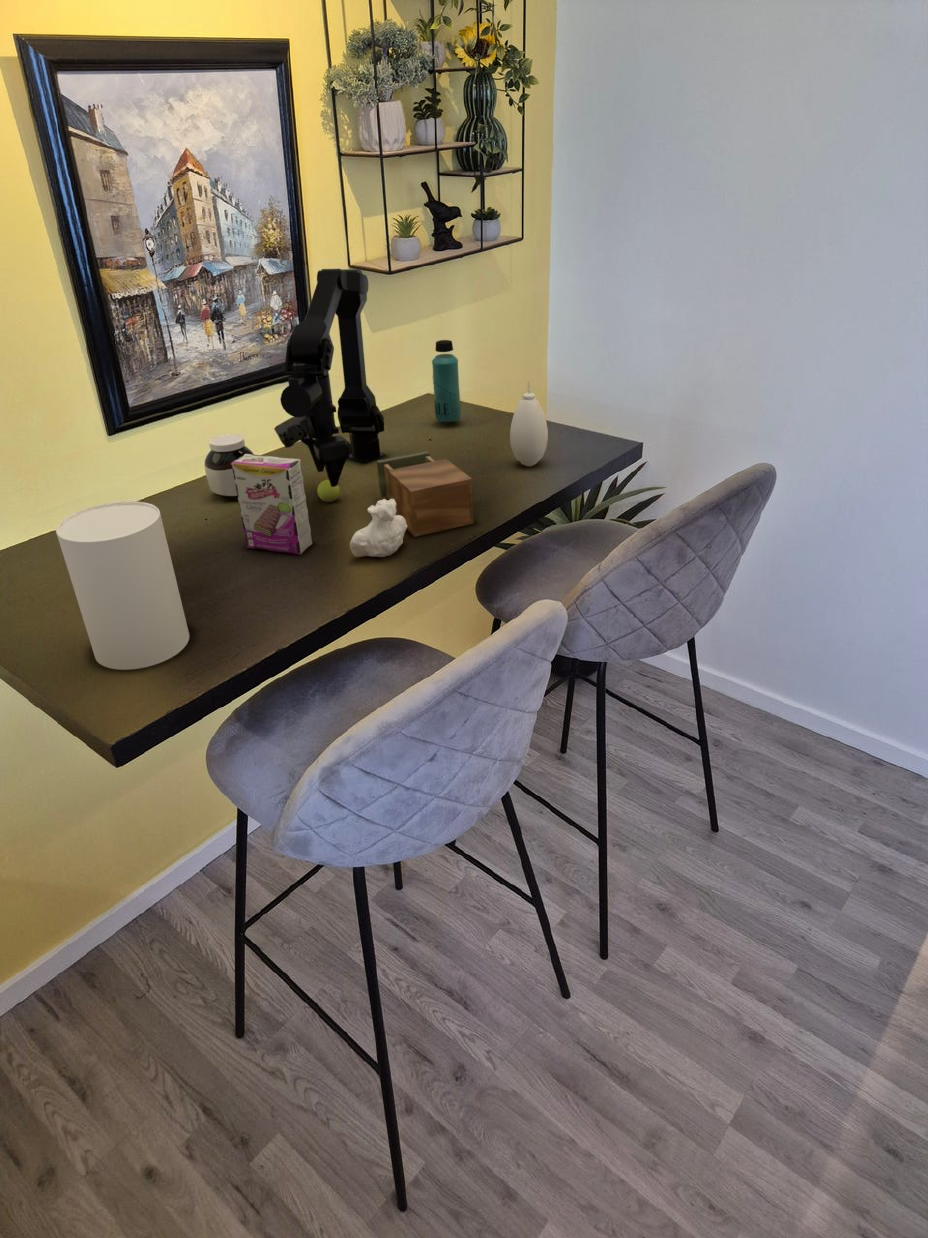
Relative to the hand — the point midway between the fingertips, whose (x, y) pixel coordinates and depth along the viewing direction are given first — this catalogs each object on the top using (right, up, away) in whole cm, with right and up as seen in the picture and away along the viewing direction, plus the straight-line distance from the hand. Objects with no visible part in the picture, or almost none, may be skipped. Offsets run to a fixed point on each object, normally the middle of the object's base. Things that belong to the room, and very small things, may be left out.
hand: (327, 478), depth 171 cm
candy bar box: (-6, -15, -15) cm, 22 cm away
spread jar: (-20, -1, +9) cm, 22 cm away
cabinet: (+21, -9, -7) cm, 24 cm away
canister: (-21, -32, -42) cm, 57 cm away
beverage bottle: (+23, +20, +42) cm, 52 cm away
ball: (0, -2, +1) cm, 3 cm away
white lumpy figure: (+13, -16, -19) cm, 28 cm away
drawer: (+17, -4, 0) cm, 18 cm away
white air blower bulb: (+41, +5, +15) cm, 44 cm away
